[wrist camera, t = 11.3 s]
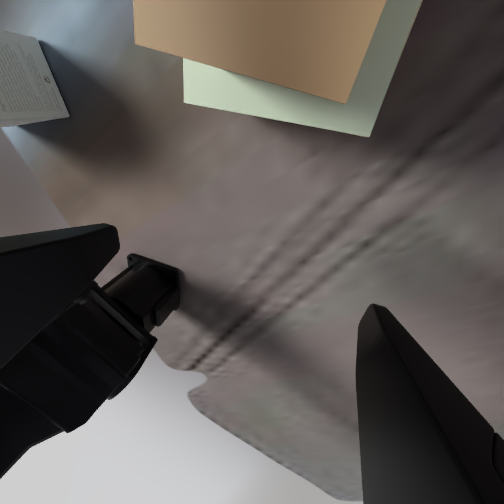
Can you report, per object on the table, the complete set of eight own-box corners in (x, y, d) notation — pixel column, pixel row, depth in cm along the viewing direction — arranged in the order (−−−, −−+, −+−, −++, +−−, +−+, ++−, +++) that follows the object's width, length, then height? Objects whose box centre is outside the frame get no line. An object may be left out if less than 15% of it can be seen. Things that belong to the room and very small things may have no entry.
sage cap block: (220, 103, 14) (184, 102, 11) (233, -134, 9) (177, -257, 6) (361, 128, 12) (369, 137, 9) (455, -135, 8) (532, -296, 5)
